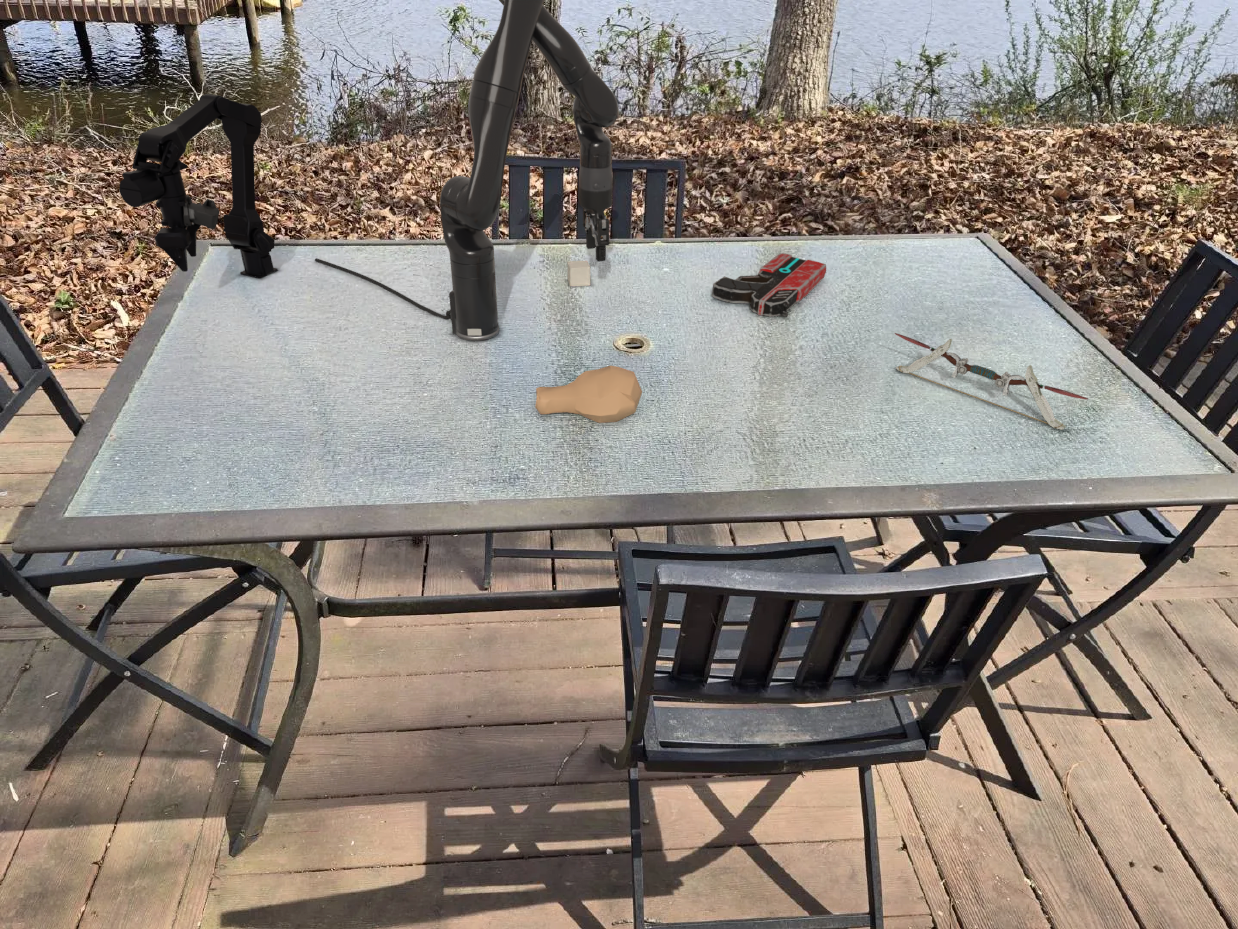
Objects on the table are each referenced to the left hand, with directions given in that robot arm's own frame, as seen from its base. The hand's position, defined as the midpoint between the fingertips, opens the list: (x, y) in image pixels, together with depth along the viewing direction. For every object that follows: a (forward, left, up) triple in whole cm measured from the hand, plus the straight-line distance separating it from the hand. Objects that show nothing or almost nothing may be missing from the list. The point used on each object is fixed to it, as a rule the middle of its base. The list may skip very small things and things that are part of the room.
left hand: (189, 263), depth 197 cm
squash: (+102, -5, -10) cm, 103 cm away
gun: (+116, +69, -10) cm, 135 cm away
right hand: (+79, +46, +1) cm, 92 cm away
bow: (+168, +35, -10) cm, 172 cm away
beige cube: (+72, +52, -10) cm, 89 cm away
